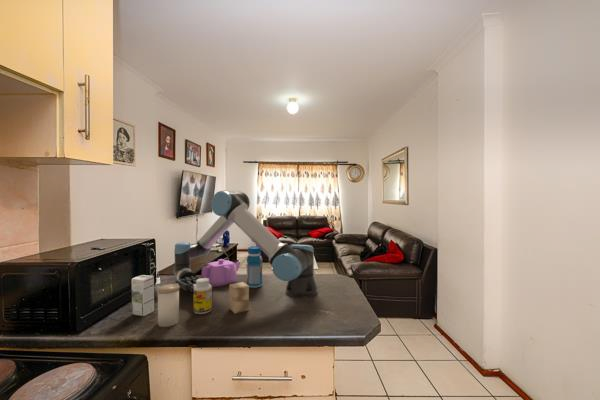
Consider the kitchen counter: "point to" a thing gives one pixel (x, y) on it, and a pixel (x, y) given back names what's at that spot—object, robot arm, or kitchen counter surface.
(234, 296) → the beech block
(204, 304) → the supplement bottle
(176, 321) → the cream jar
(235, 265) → the teakettle
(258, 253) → the beverage bottle
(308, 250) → the robot arm
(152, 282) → the syrup box
